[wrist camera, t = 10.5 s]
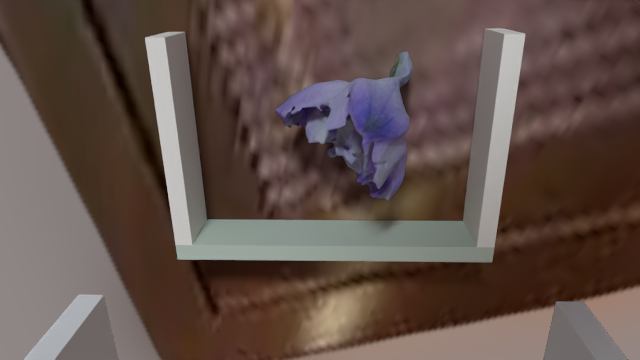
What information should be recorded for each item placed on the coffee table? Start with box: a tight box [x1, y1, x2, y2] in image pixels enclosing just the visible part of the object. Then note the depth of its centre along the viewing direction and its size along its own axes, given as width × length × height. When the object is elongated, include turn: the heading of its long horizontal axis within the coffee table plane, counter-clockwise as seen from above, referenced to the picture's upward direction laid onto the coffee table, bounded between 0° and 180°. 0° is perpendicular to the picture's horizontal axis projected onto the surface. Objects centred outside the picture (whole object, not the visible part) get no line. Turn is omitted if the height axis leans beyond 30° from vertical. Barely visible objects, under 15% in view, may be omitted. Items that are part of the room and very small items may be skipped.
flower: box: [275, 52, 413, 201], centre depth 30 cm, size 9×9×10 cm
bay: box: [145, 28, 525, 262], centre depth 32 cm, size 15×22×4 cm
